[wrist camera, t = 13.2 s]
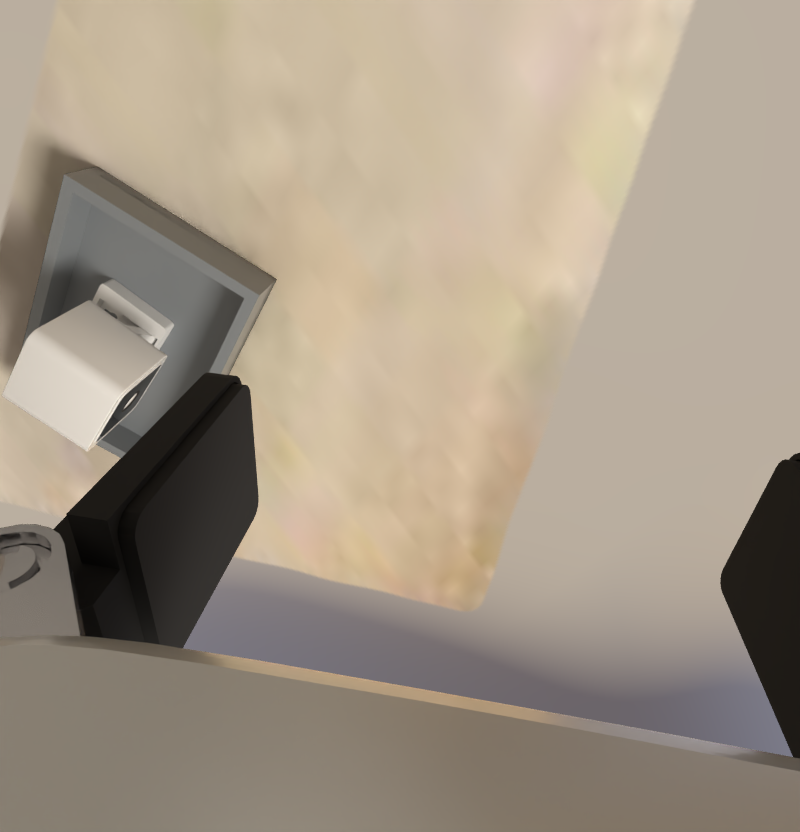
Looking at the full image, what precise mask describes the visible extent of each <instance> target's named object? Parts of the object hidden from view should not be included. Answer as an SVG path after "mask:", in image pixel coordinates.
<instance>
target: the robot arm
mask: <svg viewBox="0 0 800 832" xmlns="http://www.w3.org/2000/svg"><path fill="white" fill-rule="evenodd" d="M257 508H258V486H257V473H256V460H255V447H254V434H253V421H252V408H251V395H250V389H249V387H248V386H247V385H242V384H241V381H240V378H238V377H237V376H232V375H224V374H217V373H210V372H206V373H205V374H203V375H202V376H201V377H200V378H199V379H198V380H197V381H196V382H195V383H194V384H193V385H192V386H191V387H190V388H189V389H188V390H187V392H186V393H185V394H184V395H183V396H182V397H181V398H180V399H179V400H178V401H177V402H176V403H175V404H174V405H173V406H172V407H171V408H170V409H169V410H168V411H167V412H166V413H165V414H164V415H163V416H162V417H161V418H160V419H159V420H158V421H157V422H156V423H155V424H154V425H153V426H152V427H151V428H150V429H149V430H148V431H147V432H146V433H145V434H144V435H143V436H142V437H141V438H140V440H139V441H138V442H137V443H136V444H135V445H134V446H133V447H132V448H131V449H130V450H129V451H128V452H127V453H126V454H125V455H124V456H123V457H122V458H121V459H120V460H119V461H118V462H117V463H116V464H115V465H114V466H113V467H112V468H111V469H110V470H109V471H108V472H107V473H106V474H105V475H104V476H103V477H102V478H101V479H100V480H99V481H98V482H97V483H96V484H95V485H94V486H93V487H92V489H91V490H90V491H89V492H88V493H87V494H86V495H85V496H84V497H83V498H82V499H81V500H80V501H79V502H78V503H77V504H76V505H75V506H74V507H73V508H72V509H71V510H70V511H69V512H68V513H67V516H66V517H65V518H64V519H63V520H62V521H61V522H60V523H59V524H58V525H57V526H56V527H55V528H54V529H51V528H49V527H45V526H41V525H36V524H30V525H29V524H24V525H23V524H21V525H14V526H9V527H4V528H0V832H800V453H798V454H795V455H793V456H792V457H791V458H790V459H789V460H782V461H781V462H780V463H779V464H778V466H777V467H776V469H775V471H774V473H773V475H772V477H771V478H770V480H769V482H768V484H767V486H766V488H765V490H764V492H763V494H762V496H761V498H760V500H759V502H758V503H757V505H756V507H755V509H754V511H753V513H752V515H751V517H750V519H749V521H748V523H747V524H746V526H745V528H744V530H743V532H742V534H741V536H740V538H739V540H738V542H737V544H736V545H735V547H734V549H733V551H732V553H731V555H730V557H729V559H728V561H727V563H726V565H725V567H724V568H723V571H722V574H721V589H722V593H723V595H724V597H725V600H726V602H727V604H728V607H729V609H730V611H731V614H732V616H733V618H734V620H735V623H736V625H737V627H738V630H739V632H740V634H741V637H742V639H743V641H744V644H745V646H746V648H747V650H748V653H749V655H750V658H751V660H752V662H753V665H754V667H755V669H756V672H757V674H758V676H759V678H760V681H761V683H762V685H763V688H764V690H765V692H766V695H767V697H768V699H769V702H770V704H771V706H772V709H773V711H774V713H775V716H776V718H777V720H778V723H779V725H780V727H781V730H782V732H783V734H784V737H785V739H786V741H787V744H788V746H789V748H790V750H791V753H792V755H793V757H789V756H784V755H778V754H773V753H767V752H762V751H757V750H752V749H746V748H741V747H735V746H730V745H725V744H719V743H714V742H708V741H703V740H698V739H693V738H687V737H682V736H677V735H671V734H666V733H661V732H655V731H650V730H644V729H639V728H633V727H627V726H622V725H617V724H611V723H606V722H601V721H595V720H590V719H584V718H578V717H573V716H567V715H562V714H556V713H551V712H546V711H540V710H535V709H529V708H524V707H517V706H512V705H507V704H501V703H496V702H490V701H485V700H479V699H474V698H468V697H462V696H457V695H451V694H446V693H440V692H434V691H429V690H423V689H418V688H412V687H407V686H401V685H395V684H390V683H384V682H378V681H372V680H367V679H361V678H355V677H350V676H344V675H338V674H332V673H327V672H321V671H316V670H310V669H304V668H298V667H292V666H287V665H281V664H276V663H270V662H264V661H259V660H252V659H246V658H240V657H234V656H227V655H221V654H214V653H209V652H202V651H196V650H190V649H183V647H184V645H185V643H186V641H187V639H188V637H189V636H190V634H191V632H192V630H193V628H194V626H195V624H196V623H197V621H198V619H199V617H200V615H201V614H202V612H203V610H204V608H205V606H206V605H207V603H208V601H209V599H210V597H211V596H212V594H213V592H214V590H215V588H216V586H217V585H218V583H219V581H220V579H221V577H222V576H223V574H224V572H225V570H226V568H227V566H228V565H229V563H230V561H231V559H232V557H233V556H234V554H235V552H236V550H237V548H238V546H239V545H240V543H241V541H242V539H243V537H244V535H245V534H246V532H247V530H248V528H249V526H250V525H251V523H252V521H253V519H254V517H255V515H256V512H257Z"/></svg>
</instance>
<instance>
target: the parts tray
mask: <svg viewBox="0 0 800 832" xmlns="http://www.w3.org/2000/svg"><path fill="white" fill-rule="evenodd" d="M110 279H114V280H116V281H117V282H119V283H120V284H121V285H123V286H124V287H125V288H127V289H128V290H129V291H131V292H132V293H134V294H135V295H136V296H138V297H139V298H140V299H142V300H143V301H144V302H146V303H147V304H149V305H150V306H151V307H153V308H154V309H155V310H157V311H158V312H159V313H161V314H162V315H163V316H165V317H166V318H168V319H169V320H170V321H172V322H173V324H174V327H173V328H172V330H171V332H170V333H169V335H168V337H167V338H166V340H165V342H164V343H163V345H162V346H161V348H160V351H162V352H163V353H165V354H166V355H167V358H166V360H165V362H164V363H163V365H162V366H161V368H160V370H159V371H158V373H157V374H156V376H155V378H154V379H153V381H152V382H151V384H150V385H149V387H148V389H147V390H146V392H145V393H144V395H143V397H142V398H141V400H140V401H139V403H138V404H137V406H136V407H135V408H134V409H133V410H132V412H131V413H129V414H128V415H127V416H126V417H125V418H124V419H123V420H122V421H121V422H120V423H119V424H117V425H116V426H115V427H114V428H113V429H112V430H111V431H110V432H109V433H108V434H107V435H105V436H104V437H103V438H102V439H101V440H100V441H99V442H98V443H97V444H96V445H98V446H100V447H102V448H104V449H105V450H107V451H109V452H111V453H113V454H115V455H116V456H118V457H120V458H122V457H123V456H124V455H125V454H126V453H127V452H128V451H129V450H130V449H131V448H132V447H133V446H134V445H135V444H136V443H137V442H138V441H139V440H140V438H141V437H142V436H143V435H144V434H145V433H146V432H147V431H148V430H149V429H150V428H151V427H152V426H153V425H154V424H155V423H156V422H157V421H158V420H159V419H160V418H161V417H162V416H163V415H164V414H165V413H166V412H167V411H168V410H169V409H170V408H171V407H172V406H173V405H174V404H175V403H176V402H177V401H178V400H179V399H180V398H181V397H182V396H183V395H184V394H185V393H186V392H187V390H188V389H189V388H190V387H191V386H192V385H193V384H194V383H195V382H196V381H197V380H198V379H199V378H200V377H201V376H202V375H203V374H205V373H206V372H210V373H217V374H224V375H229V373H230V371H231V369H232V367H233V365H234V363H235V361H236V359H237V357H238V355H239V353H240V351H241V349H242V347H243V345H244V343H245V342H246V340H247V338H248V336H249V334H250V332H251V330H252V328H253V326H254V324H255V322H256V320H257V318H258V316H259V314H260V312H261V310H262V308H263V306H264V304H265V302H266V300H267V298H268V296H269V294H270V292H271V290H272V288H273V286H274V284H275V282H276V280H277V279H275V278H273V277H272V276H270V275H269V274H267V273H265V272H264V271H262V270H261V269H259V268H258V267H256V266H254V265H253V264H251V263H250V262H248V261H246V260H245V259H243V258H242V257H240V256H238V255H237V254H235V253H234V252H232V251H231V250H229V249H227V248H226V247H224V246H223V245H221V244H219V243H218V242H216V241H215V240H213V239H211V238H210V237H208V236H207V235H205V234H204V233H202V232H200V231H199V230H197V229H196V228H194V227H192V226H191V225H189V224H188V223H186V222H185V221H183V220H181V219H180V218H178V217H177V216H175V215H173V214H172V213H170V212H169V211H167V210H165V209H164V208H162V207H161V206H159V205H158V204H156V203H154V202H153V201H151V200H150V199H148V198H146V197H145V196H143V195H142V194H140V193H138V192H137V191H135V190H134V189H132V188H131V187H129V186H127V185H126V184H124V183H123V182H121V181H119V180H118V179H116V178H115V177H113V176H111V175H110V174H108V173H107V172H105V171H104V170H102V169H100V168H99V167H93V168H89V169H85V170H80V171H76V172H72V173H67V174H64V177H63V181H62V185H61V189H60V193H59V198H58V202H57V206H56V210H55V214H54V218H53V222H52V226H51V231H50V235H49V239H48V243H47V247H46V251H45V255H44V259H43V263H42V268H41V272H40V276H39V280H38V284H37V288H36V292H35V296H34V301H33V305H32V309H31V313H30V317H29V321H28V325H27V329H26V334H25V338H24V342H23V346H24V343H25V341H26V339H27V338H28V336H29V335H30V334H31V333H32V332H33V331H34V330H36V329H37V328H39V327H41V326H42V325H44V324H46V323H48V322H50V321H51V320H53V319H55V318H57V317H59V316H61V315H62V314H64V313H66V312H68V311H70V310H71V309H73V308H75V307H77V306H79V305H81V304H82V303H84V302H86V301H88V300H91V301H93V299H94V296H95V294H96V292H97V290H98V288H99V286H100V285H101V284H103V283H105V282H107V281H108V280H110ZM105 311H106V312H107V313H109V314H110V315H111V316H113V317H114V318H116V319H117V315H116V314H114V313H111V312H109V311H108V310H107V309H105ZM23 346H22V348H23Z"/></svg>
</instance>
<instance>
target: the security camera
mask: <svg viewBox="0 0 800 832" xmlns="http://www.w3.org/2000/svg"><path fill="white" fill-rule="evenodd" d="M105 309H107V310H108V311H109V312H111V313H114V314H116V315H117V319H116V318H114V317H113V316H111V315H110V314H109V313H107V312H106V311H105ZM173 327H174V324H173V322H172V321H170V320H169V319H168V318H166V317H165V316H163V315H162V314H161V313H159V312H158V311H157V310H155V309H154V308H153V307H151V306H150V305H149V304H147V303H146V302H144V301H143V300H142V299H140V298H139V297H138V296H136V295H135V294H134V293H132V292H131V291H129V290H128V289H127V288H125V287H124V286H123V285H121V284H120V283H119V282H117V281H116V280H114V279H110V280H108V281H107V282H105V283H103V284H101V285H100V286H99V288H98V290H97V292H96V294H95V296H94V299H93V301H91V300H88V301H86V302H84V303H82V304H81V305H79V306H77V307H75V308H73V309H71V310H70V311H68V312H66V313H64V314H62V315H61V316H59V317H57V318H55V319H53V320H51V321H50V322H48V323H46V324H44V325H42V326H41V327H39V328H37V329H36V330H34V331H33V332H32V333H31V334H30V335H29V336H28V338H27V339H26V341H25V343H24V346H23V348H22V350H21V352H20V355H19V357H18V359H17V362H16V364H15V366H14V368H13V371H12V373H11V375H10V377H9V380H8V382H7V384H6V387H5V389H4V391H3V394H2V396H3V397H4V398H5V399H7V400H8V401H10V402H12V403H13V404H15V405H16V406H18V407H19V408H21V409H22V410H24V411H25V412H27V413H28V414H30V415H32V416H33V417H35V418H36V419H38V420H39V421H41V422H42V423H44V424H45V425H47V426H48V427H50V428H52V429H53V430H55V431H56V432H58V433H59V434H61V435H62V436H64V437H65V438H67V439H69V440H70V441H72V442H73V443H75V444H76V445H78V446H79V447H81V448H82V449H84V450H85V451H89V450H90V449H91V448H92V447H93V446H95V445H96V444H97V443H98V442H99V441H100V440H101V439H102V438H103V437H104V436H105V435H107V434H108V433H109V432H110V431H111V430H112V429H113V428H114V427H115V426H116V425H117V424H119V423H120V422H121V421H122V420H123V419H124V418H125V417H126V416H127V415H128V414H129V413H131V412H132V410H133V409H134V408H135V407H136V406H137V404H138V403H139V401H140V400H141V398H142V397H143V395H144V393H145V392H146V390H147V389H148V387H149V385H150V384H151V382H152V381H153V379H154V378H155V376H156V374H157V373H158V371H159V370H160V368H161V366H162V365H163V363H164V362H165V360H166V358H167V355H166V354H165V353H163V352H162V351H160V348H161V346H162V345H163V343H164V342H165V340H166V338H167V337H168V335H169V333H170V332H171V330H172V328H173Z"/></svg>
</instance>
